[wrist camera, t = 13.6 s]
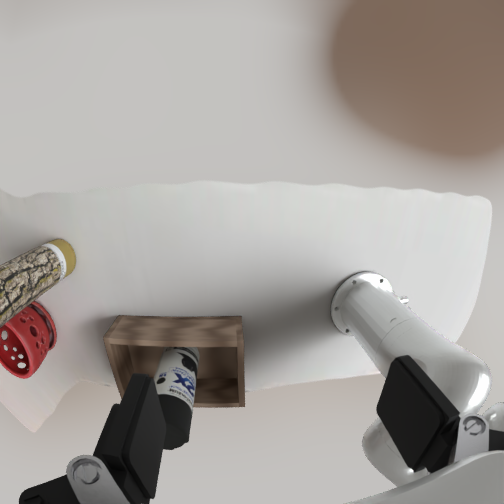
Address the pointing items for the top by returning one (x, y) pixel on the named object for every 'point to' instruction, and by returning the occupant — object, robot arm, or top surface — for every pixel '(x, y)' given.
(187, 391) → the spray can
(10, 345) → the plant pot
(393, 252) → the top surface
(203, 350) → the walnut box
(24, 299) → the paper tube
